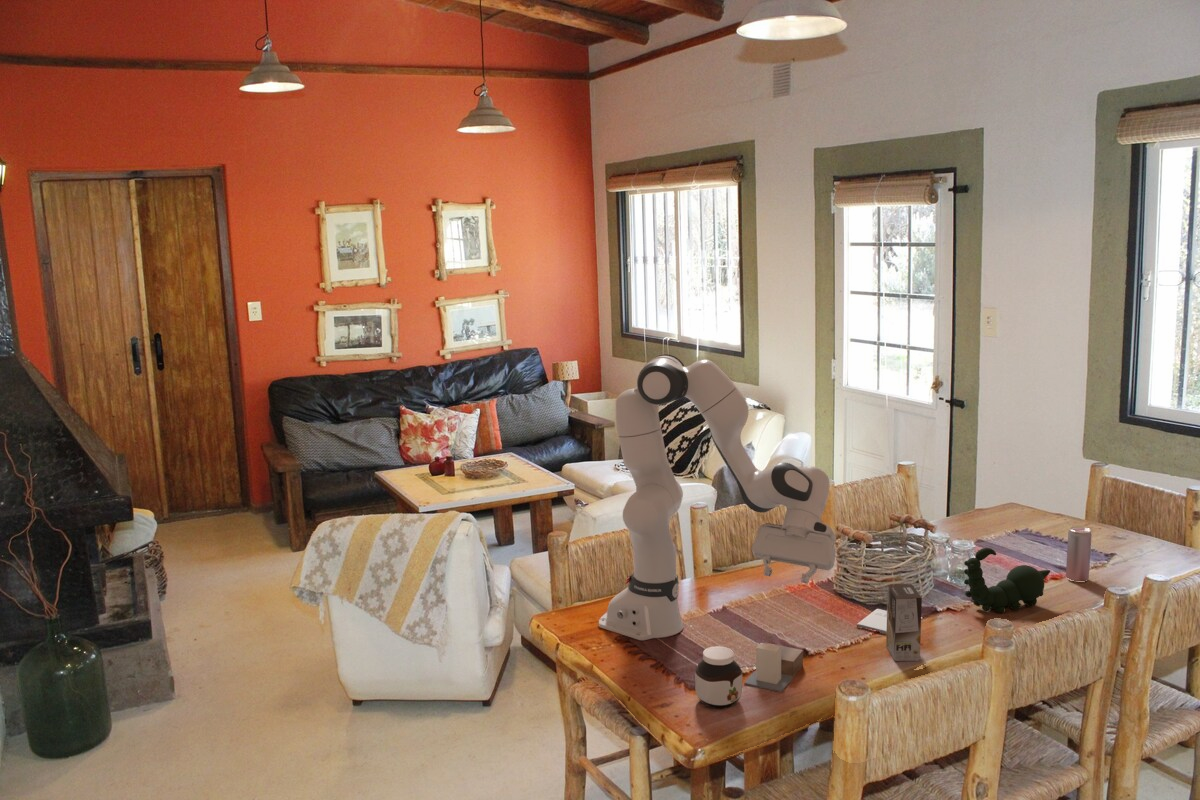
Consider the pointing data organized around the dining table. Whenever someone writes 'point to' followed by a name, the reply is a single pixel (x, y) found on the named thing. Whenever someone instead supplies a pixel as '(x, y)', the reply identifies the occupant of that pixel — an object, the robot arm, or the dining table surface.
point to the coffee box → (903, 622)
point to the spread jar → (718, 678)
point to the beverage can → (1078, 553)
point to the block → (768, 663)
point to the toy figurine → (1003, 585)
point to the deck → (790, 660)
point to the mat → (770, 686)
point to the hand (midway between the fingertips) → (785, 578)
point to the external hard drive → (875, 621)
